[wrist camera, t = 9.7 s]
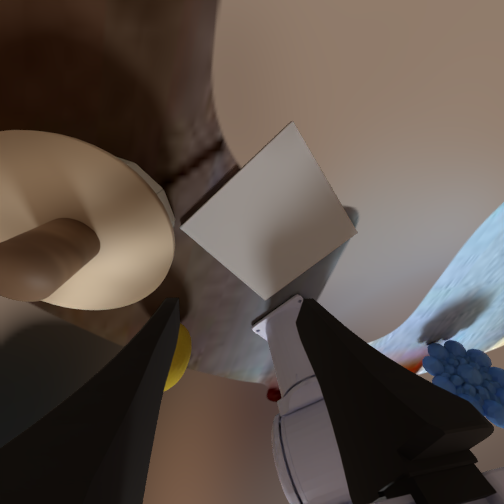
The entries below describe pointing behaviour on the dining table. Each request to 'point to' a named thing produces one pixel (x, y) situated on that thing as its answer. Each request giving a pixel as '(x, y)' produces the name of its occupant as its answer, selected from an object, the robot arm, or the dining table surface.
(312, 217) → the mat
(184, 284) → the dining table surface
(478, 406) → the grapes
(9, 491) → the robot arm
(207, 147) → the dining table surface
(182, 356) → the lemon
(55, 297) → the lid
